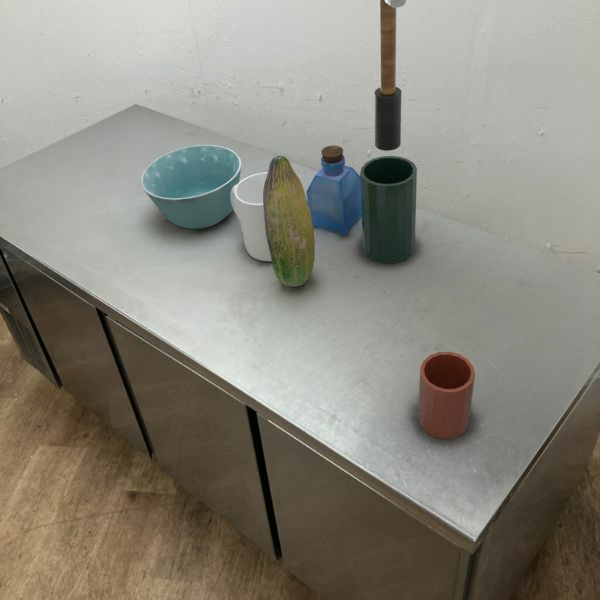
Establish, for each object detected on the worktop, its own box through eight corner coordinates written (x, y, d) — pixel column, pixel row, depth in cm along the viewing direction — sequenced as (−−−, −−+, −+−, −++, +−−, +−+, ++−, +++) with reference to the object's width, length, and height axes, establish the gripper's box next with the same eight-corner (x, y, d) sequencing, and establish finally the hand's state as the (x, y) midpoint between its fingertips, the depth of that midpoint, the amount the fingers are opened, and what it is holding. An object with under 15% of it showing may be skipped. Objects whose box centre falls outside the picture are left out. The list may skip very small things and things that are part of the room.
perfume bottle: (364, 213, 101) (361, 144, 93) (344, 235, 97) (340, 166, 89) (330, 204, 104) (324, 136, 96) (309, 225, 100) (302, 157, 92)
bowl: (138, 239, 102) (123, 195, 96) (175, 184, 113) (163, 142, 107) (231, 246, 98) (222, 201, 93) (260, 188, 109) (253, 145, 104)
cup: (424, 254, 92) (427, 176, 84) (376, 269, 91) (374, 191, 82) (400, 226, 98) (401, 150, 89) (355, 241, 96) (351, 164, 87)
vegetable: (326, 277, 91) (315, 151, 77) (307, 306, 87) (291, 178, 73) (288, 268, 93) (270, 144, 80) (267, 295, 89) (245, 170, 76)
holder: (478, 428, 70) (485, 381, 65) (433, 446, 69) (436, 399, 64) (452, 393, 74) (457, 345, 68) (409, 409, 73) (411, 361, 67)
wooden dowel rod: (405, 146, 81) (409, -46, 66) (381, 153, 80) (380, -40, 65) (393, 135, 83) (395, -54, 68) (370, 141, 82) (367, -48, 67)
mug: (218, 239, 100) (205, 182, 93) (257, 214, 104) (247, 158, 97) (271, 271, 93) (261, 211, 86) (311, 242, 97) (305, 184, 90)
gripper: (478, -146, 54) (465, 24, 63) (373, -170, 68) (374, -29, 77) (410, -133, 52) (406, 39, 62) (317, -161, 67) (326, -18, 76)
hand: (388, 1), depth 70 cm, fingers closed on wooden dowel rod, 2 cm apart
